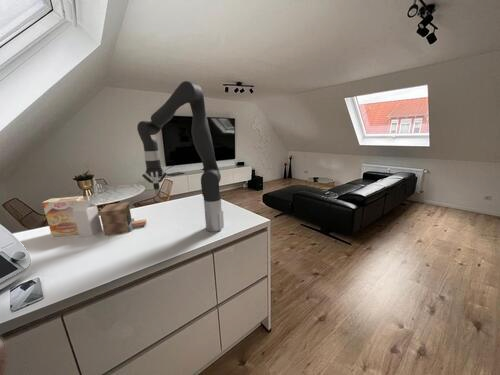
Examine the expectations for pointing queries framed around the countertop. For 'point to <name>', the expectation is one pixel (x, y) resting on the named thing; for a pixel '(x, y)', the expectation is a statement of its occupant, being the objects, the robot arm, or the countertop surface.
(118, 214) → the cabinet
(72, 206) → the coffeecake box
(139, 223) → the tray
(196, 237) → the countertop surface
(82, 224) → the milk carton
